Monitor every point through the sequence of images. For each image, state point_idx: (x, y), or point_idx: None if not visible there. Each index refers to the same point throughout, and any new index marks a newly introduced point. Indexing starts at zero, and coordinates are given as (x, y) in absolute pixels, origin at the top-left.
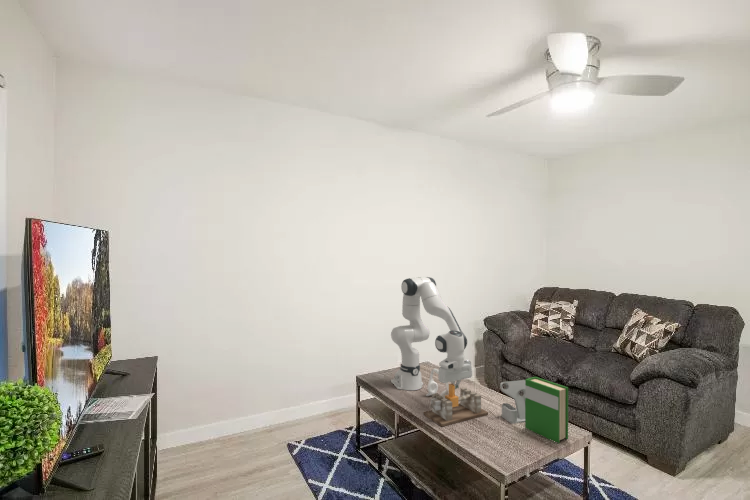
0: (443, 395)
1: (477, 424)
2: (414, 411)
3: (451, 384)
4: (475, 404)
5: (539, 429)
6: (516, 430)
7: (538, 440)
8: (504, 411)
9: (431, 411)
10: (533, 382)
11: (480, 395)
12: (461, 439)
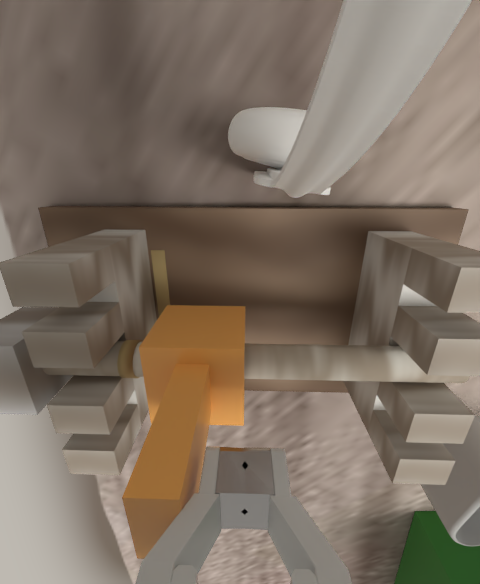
0: (252, 158)
1: (270, 424)
2: (2, 120)
3: (158, 524)
4: (363, 409)
5: (414, 573)
6: (366, 509)
7: (361, 562)
8: (454, 474)
9: (97, 230)
10: None
11: (439, 483)
12: (122, 472)
